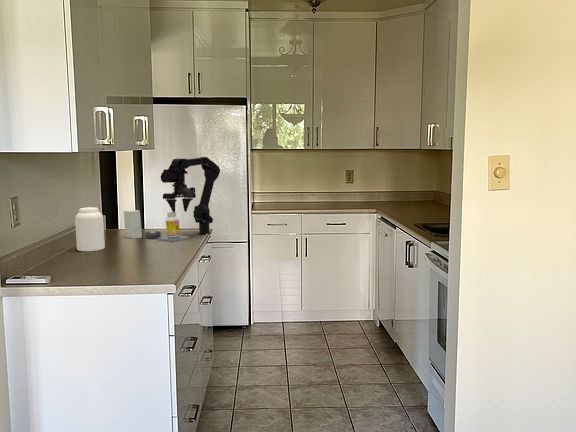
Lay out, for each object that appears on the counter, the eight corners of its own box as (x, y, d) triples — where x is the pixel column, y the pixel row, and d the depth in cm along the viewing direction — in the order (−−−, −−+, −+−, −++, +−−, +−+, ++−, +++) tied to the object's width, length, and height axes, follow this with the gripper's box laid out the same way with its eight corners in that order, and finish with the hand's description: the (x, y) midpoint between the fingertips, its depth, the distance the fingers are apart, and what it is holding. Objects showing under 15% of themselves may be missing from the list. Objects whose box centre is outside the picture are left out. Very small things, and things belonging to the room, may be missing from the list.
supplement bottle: (177, 238, 278) (175, 213, 276) (165, 238, 279) (163, 213, 278) (182, 235, 285) (180, 211, 283) (170, 236, 286) (168, 212, 284)
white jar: (104, 250, 253) (102, 208, 250) (76, 252, 249) (73, 209, 247) (105, 246, 265) (102, 205, 262) (77, 248, 261) (75, 207, 258)
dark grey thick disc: (145, 237, 292) (145, 231, 291) (161, 236, 293) (160, 230, 293) (144, 239, 284) (144, 233, 283) (160, 238, 285) (160, 232, 285)
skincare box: (142, 237, 289) (141, 210, 288) (132, 239, 285) (130, 211, 283) (134, 236, 295) (133, 209, 294) (124, 237, 291) (123, 210, 289)
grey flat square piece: (174, 237, 290) (174, 234, 290) (189, 238, 283) (189, 236, 283) (156, 240, 281) (156, 238, 281) (172, 242, 274) (172, 239, 274)
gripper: (176, 182, 271) (177, 213, 272) (202, 182, 286) (203, 211, 287) (161, 182, 277) (162, 213, 278) (188, 182, 292) (188, 211, 293)
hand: (179, 212), depth 284 cm, fingers open, 8 cm apart
